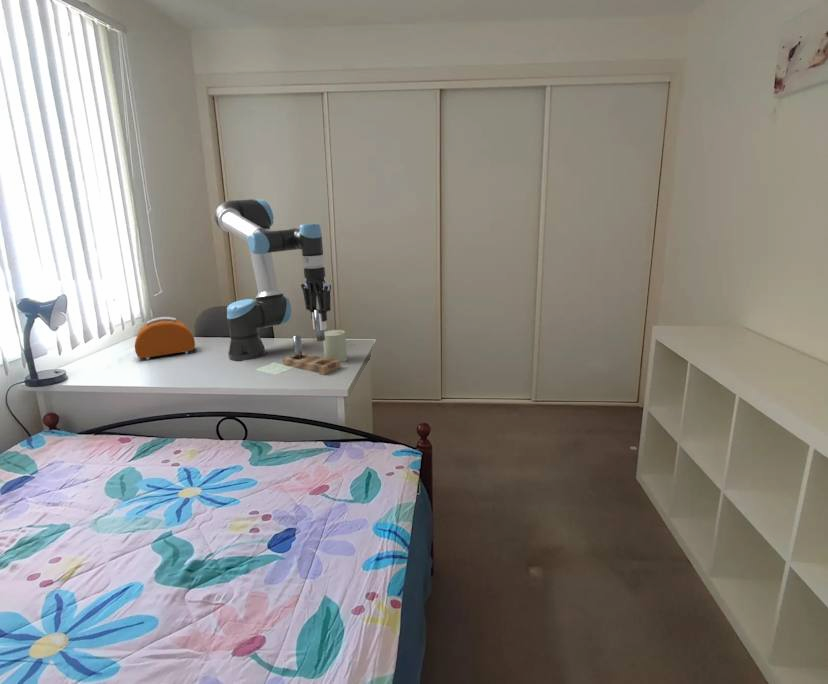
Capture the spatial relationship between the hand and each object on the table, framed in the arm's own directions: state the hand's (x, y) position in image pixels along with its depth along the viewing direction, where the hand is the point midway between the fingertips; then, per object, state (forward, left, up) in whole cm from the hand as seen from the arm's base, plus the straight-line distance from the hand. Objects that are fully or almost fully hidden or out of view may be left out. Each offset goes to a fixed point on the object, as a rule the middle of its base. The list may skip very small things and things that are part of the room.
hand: (320, 328), depth 196 cm
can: (-4, +11, -17) cm, 21 cm away
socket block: (-7, 0, -16) cm, 18 cm away
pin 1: (-13, 0, -16) cm, 21 cm away
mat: (-18, -9, -16) cm, 26 cm away
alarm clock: (-77, -18, -17) cm, 81 cm away
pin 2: (0, 0, -4) cm, 4 cm away
